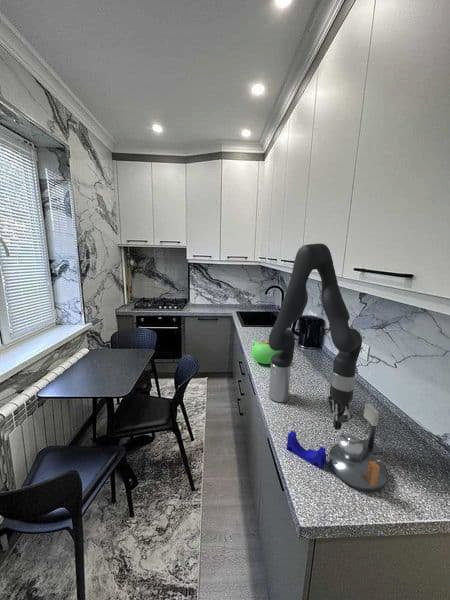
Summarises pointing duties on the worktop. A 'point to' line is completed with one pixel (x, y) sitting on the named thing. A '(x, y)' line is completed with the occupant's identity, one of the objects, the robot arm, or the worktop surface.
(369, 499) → the worktop surface
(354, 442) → the cover
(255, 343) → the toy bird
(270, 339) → the robot arm
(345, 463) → the grey pot lid
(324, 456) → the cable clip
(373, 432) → the grey stand with block
